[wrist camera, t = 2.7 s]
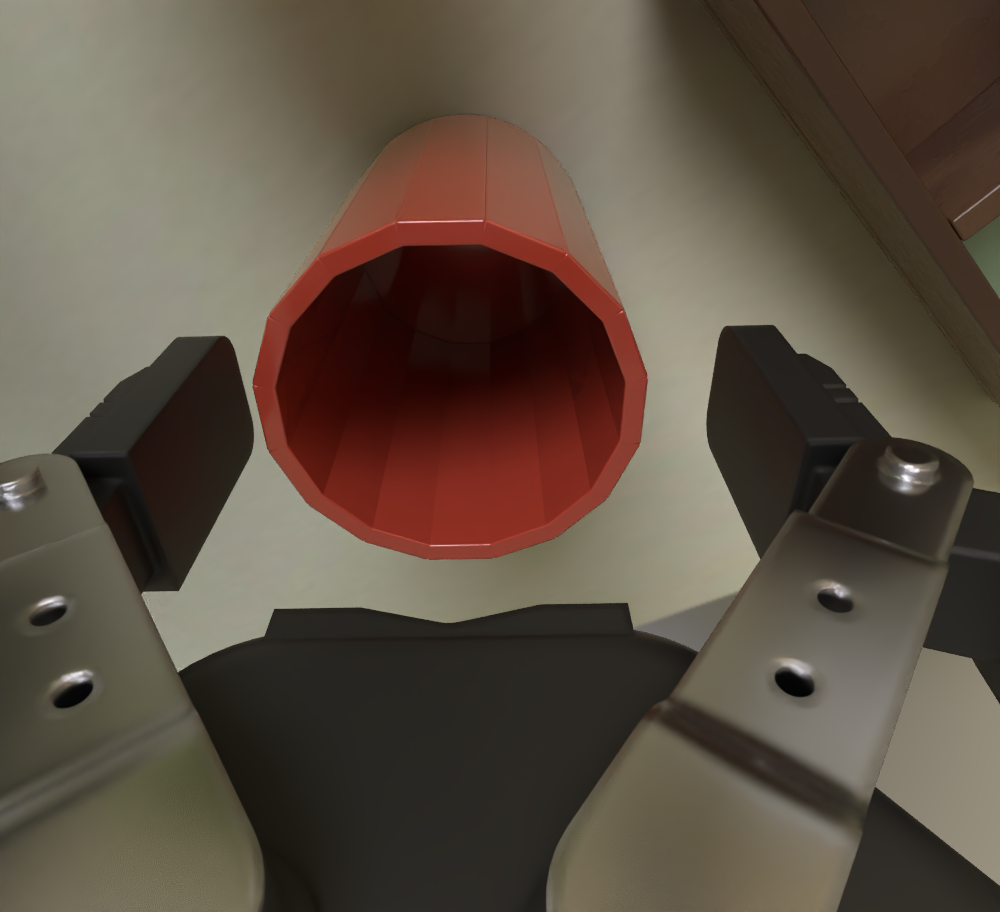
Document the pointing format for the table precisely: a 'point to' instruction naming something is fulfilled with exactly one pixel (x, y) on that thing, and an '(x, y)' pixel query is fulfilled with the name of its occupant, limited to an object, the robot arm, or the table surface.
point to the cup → (453, 352)
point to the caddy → (899, 136)
